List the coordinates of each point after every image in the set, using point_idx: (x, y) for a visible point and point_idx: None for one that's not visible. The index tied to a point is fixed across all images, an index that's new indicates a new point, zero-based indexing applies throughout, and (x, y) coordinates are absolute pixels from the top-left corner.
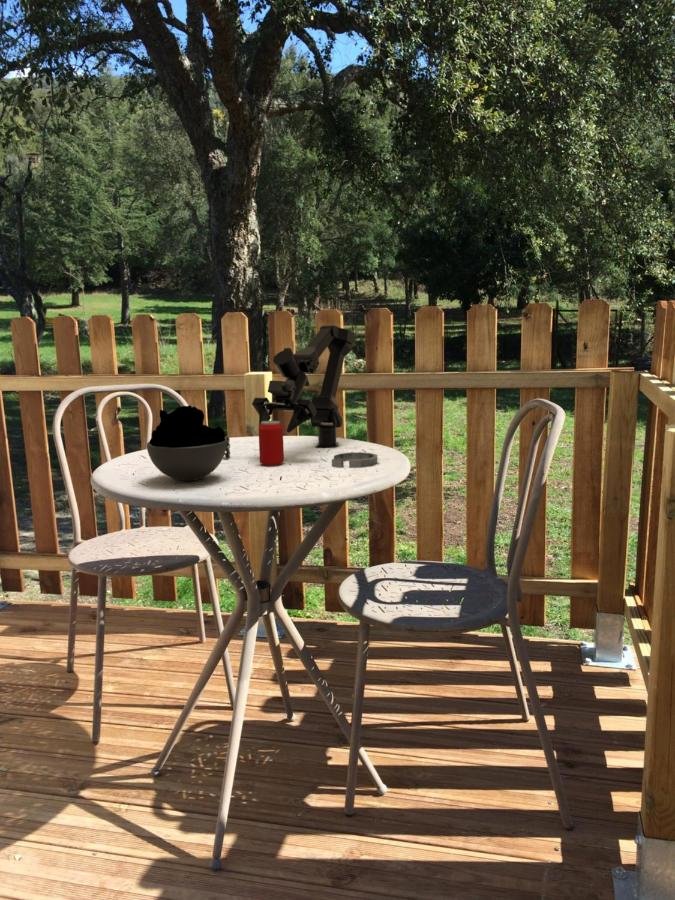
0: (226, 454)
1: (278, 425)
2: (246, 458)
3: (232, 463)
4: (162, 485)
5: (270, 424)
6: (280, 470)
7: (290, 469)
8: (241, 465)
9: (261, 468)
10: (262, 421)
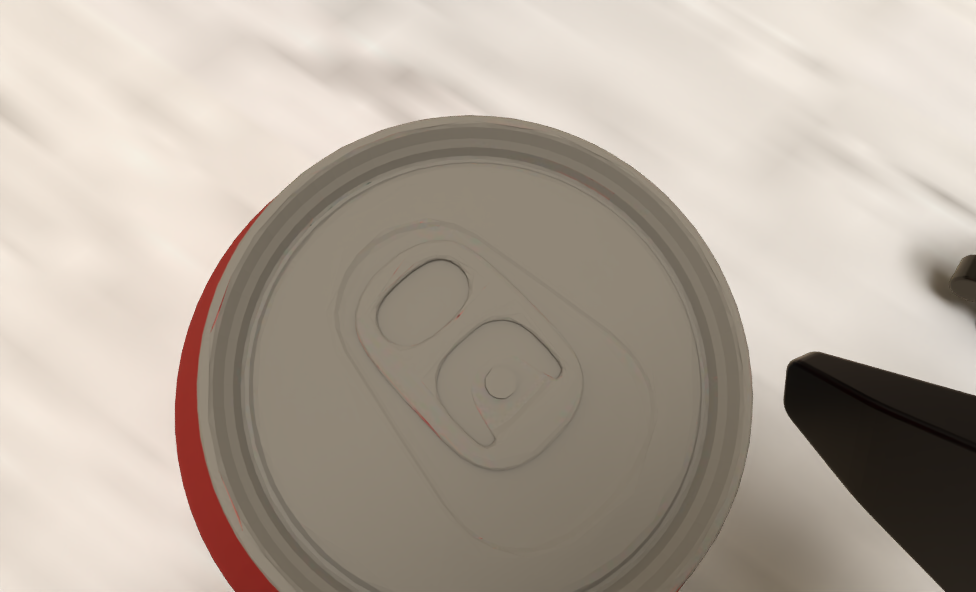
0: (971, 261)
1: (194, 443)
2: None
3: (735, 205)
4: None
5: (270, 218)
6: (99, 298)
7: (47, 400)
8: None
9: None
10: (972, 471)
